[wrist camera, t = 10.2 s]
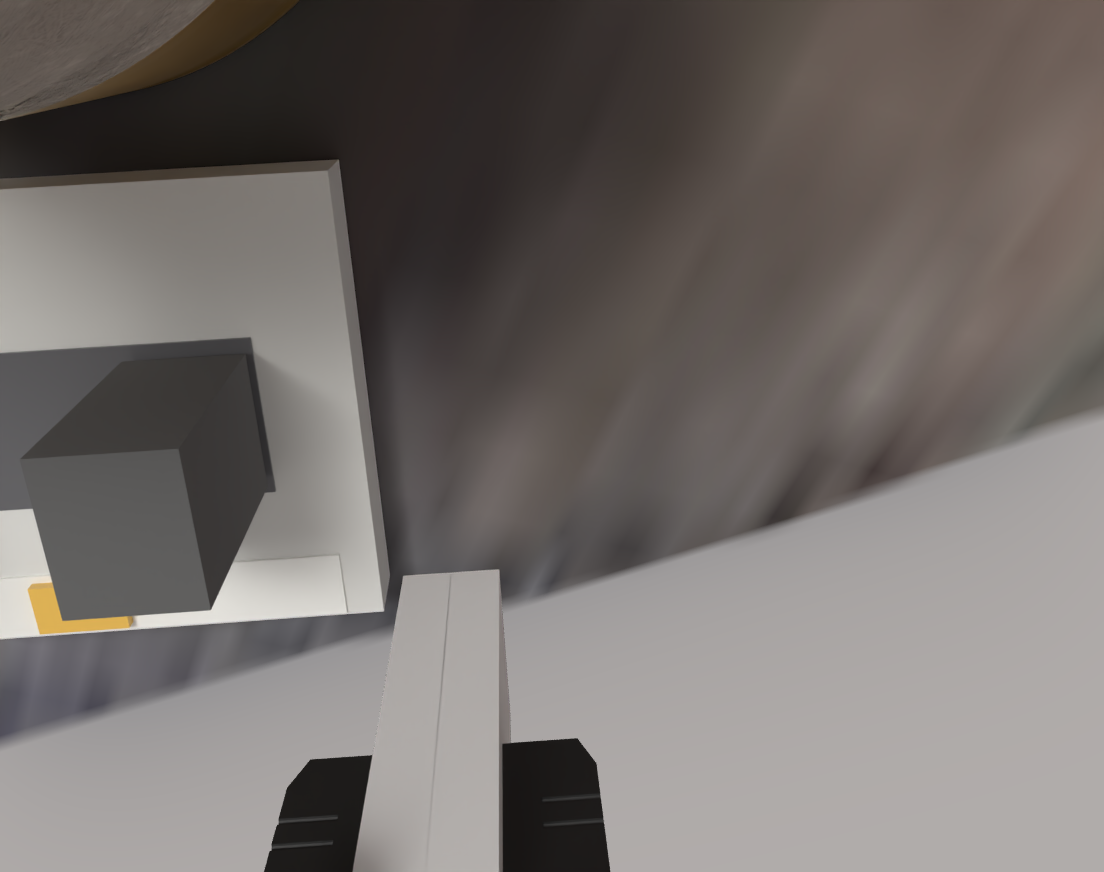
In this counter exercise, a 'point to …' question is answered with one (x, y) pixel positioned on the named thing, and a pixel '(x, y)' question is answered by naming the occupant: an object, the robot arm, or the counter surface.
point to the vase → (115, 45)
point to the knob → (148, 487)
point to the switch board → (194, 331)
